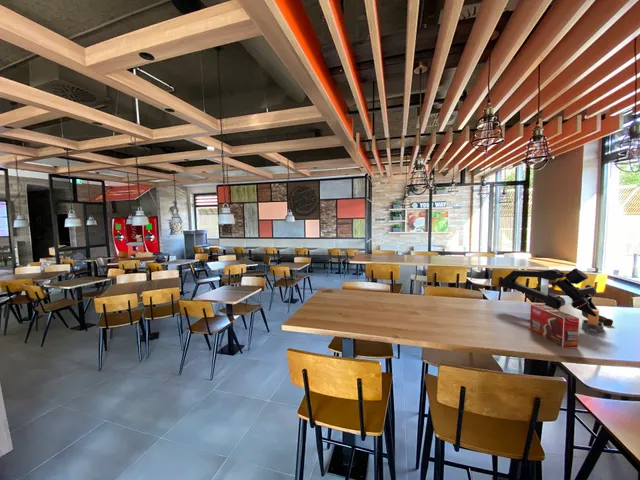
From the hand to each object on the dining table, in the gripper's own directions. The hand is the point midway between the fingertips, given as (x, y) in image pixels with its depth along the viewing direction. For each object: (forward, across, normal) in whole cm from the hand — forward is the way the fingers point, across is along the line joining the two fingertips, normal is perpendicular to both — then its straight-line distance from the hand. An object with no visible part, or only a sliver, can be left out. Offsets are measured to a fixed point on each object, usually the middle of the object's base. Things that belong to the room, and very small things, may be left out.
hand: (597, 314), depth 136 cm
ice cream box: (-3, -30, +14) cm, 33 cm away
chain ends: (+5, 0, +7) cm, 8 cm away
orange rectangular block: (+5, 0, +7) cm, 8 cm away
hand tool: (+4, +19, +8) cm, 21 cm away
